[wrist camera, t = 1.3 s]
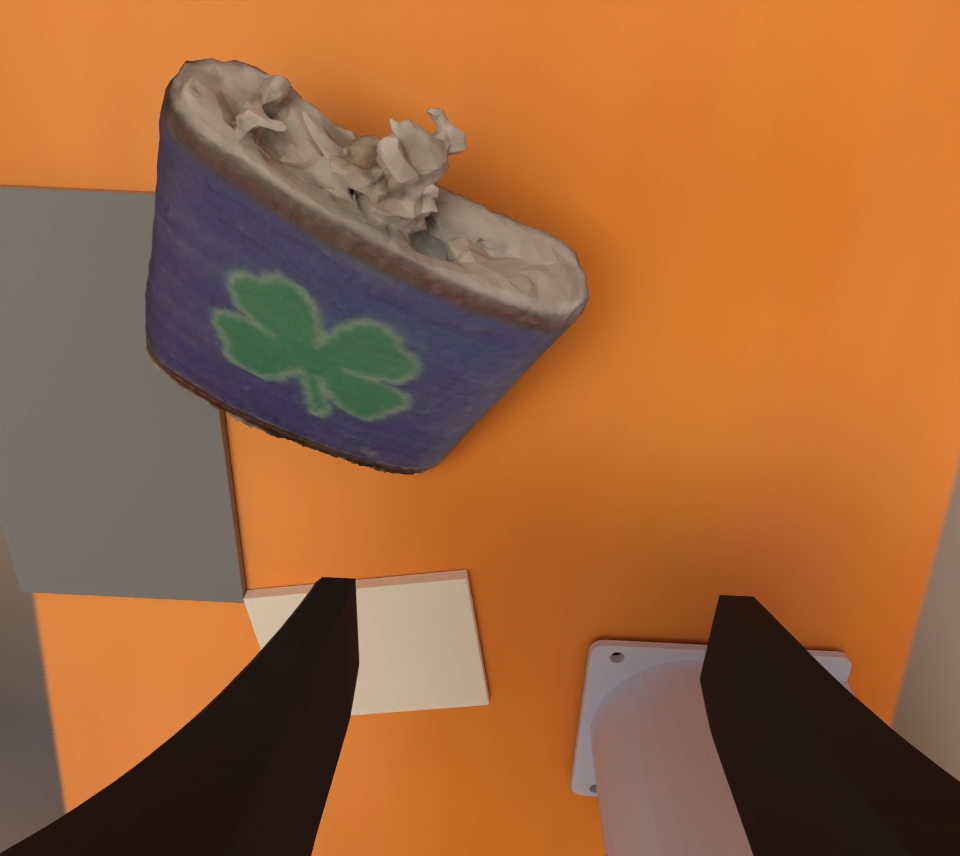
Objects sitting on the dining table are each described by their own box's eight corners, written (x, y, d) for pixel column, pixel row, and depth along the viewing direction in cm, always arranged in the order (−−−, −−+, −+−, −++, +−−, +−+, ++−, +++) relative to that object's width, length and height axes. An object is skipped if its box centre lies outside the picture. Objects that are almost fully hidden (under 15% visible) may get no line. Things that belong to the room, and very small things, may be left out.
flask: (453, 424, 23) (654, 202, 14) (426, 504, 22) (633, 311, 13) (169, 291, 21) (199, -65, 12) (117, 370, 19) (109, 28, 11)
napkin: (467, 569, 25) (466, 578, 25) (489, 694, 28) (488, 704, 28) (247, 589, 26) (243, 598, 26) (288, 710, 29) (285, 720, 28)
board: (196, 193, 20) (191, 195, 20) (247, 595, 26) (243, 602, 26) (-91, 180, 20) (-102, 182, 20) (27, 584, 26) (20, 591, 26)
